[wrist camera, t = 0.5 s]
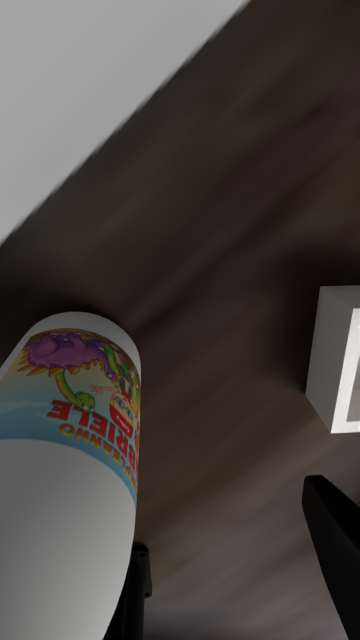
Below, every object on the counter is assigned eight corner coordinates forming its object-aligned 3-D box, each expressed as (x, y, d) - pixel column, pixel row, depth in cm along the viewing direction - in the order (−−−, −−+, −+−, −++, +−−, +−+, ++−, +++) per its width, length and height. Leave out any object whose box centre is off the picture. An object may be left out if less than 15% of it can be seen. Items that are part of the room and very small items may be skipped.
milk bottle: (91, 426, 24) (-71, 1194, 6) (-6, 366, 22) (-804, 1424, 3) (165, 357, 22) (245, 1161, 4) (70, 282, 20) (-786, 1598, 2)
